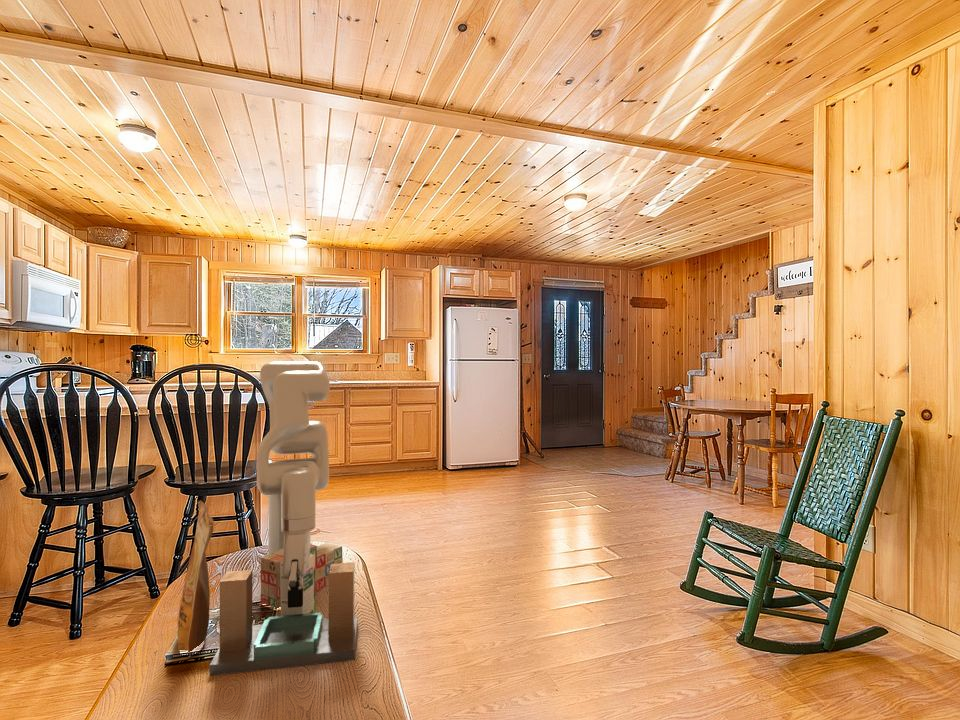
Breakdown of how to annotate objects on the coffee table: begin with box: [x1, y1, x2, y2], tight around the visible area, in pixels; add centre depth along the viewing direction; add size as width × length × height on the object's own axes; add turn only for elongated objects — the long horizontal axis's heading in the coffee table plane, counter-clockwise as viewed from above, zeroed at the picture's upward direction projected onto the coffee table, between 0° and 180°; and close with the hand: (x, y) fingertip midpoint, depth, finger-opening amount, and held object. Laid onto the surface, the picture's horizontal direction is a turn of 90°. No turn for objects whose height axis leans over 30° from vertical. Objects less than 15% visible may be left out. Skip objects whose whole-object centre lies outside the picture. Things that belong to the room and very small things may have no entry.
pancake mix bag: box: [177, 500, 214, 652], centre depth 110 cm, size 7×19×28 cm, turn 27°
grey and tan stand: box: [208, 562, 359, 676], centre depth 107 cm, size 14×27×16 cm, turn 101°
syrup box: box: [280, 553, 317, 616], centre depth 118 cm, size 6×6×14 cm
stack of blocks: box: [259, 542, 344, 608], centre depth 133 cm, size 21×6×12 cm, turn 149°
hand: (298, 597), depth 118 cm, fingers closed on syrup box, 7 cm apart
